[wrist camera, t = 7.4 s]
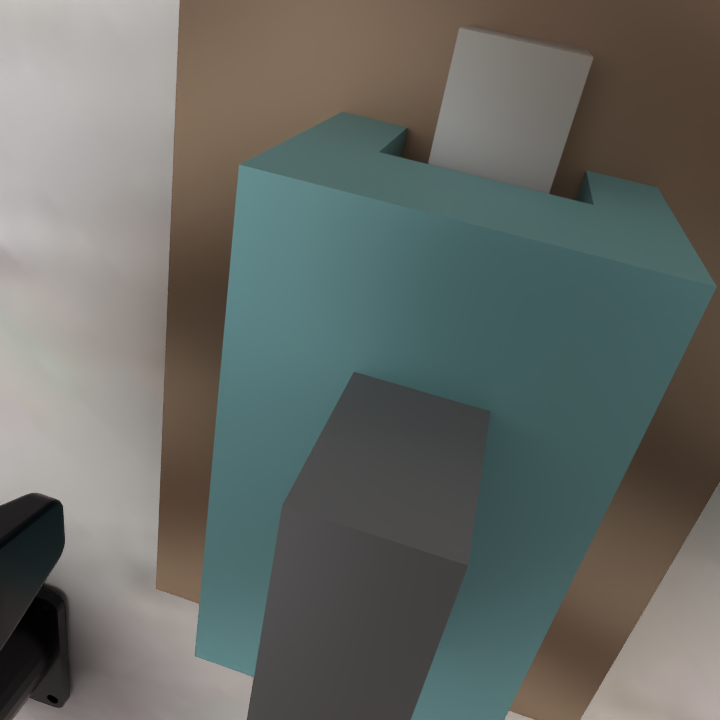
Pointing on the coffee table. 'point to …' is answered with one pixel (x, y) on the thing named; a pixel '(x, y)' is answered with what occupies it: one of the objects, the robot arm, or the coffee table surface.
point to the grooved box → (423, 419)
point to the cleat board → (406, 88)
